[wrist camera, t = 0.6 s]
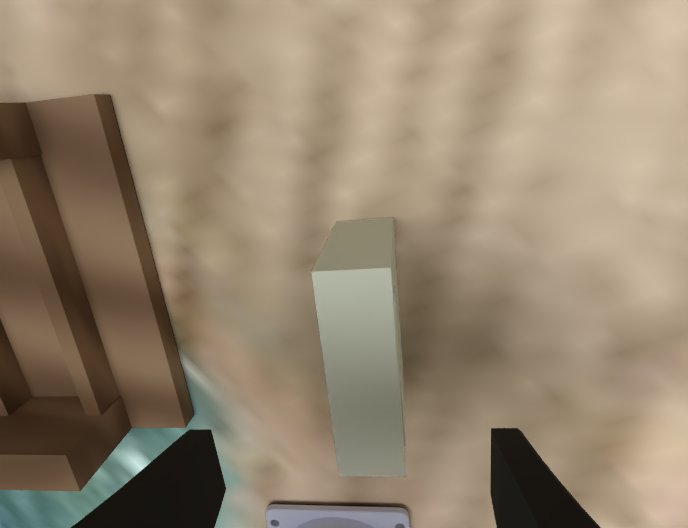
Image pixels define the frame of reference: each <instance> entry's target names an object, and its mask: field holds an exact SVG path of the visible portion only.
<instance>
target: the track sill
mask: <svg viewBox="0 0 688 528" xmlns="http://www.w3.org/2000/svg"><path fill="white" fill-rule="evenodd" d="M193 416H194V412H193V408H192V404H191V400H190V396H189V393H188V389H187V385H186V381H185V378H184V374H183V370H182V366H181V362H180V359H179V355H178V351H177V347H176V344H175V340H174V336H173V332H172V328H171V325H170V321H169V317H168V313H167V309H166V306H165V302H164V298H163V294H162V291H161V287H160V283H159V279H158V275H157V272H156V268H155V264H154V260H153V256H152V253H151V249H150V245H149V241H148V238H147V234H146V230H145V226H144V222H143V219H142V215H141V211H140V207H139V203H138V200H137V196H136V192H135V188H134V185H133V181H132V177H131V173H130V169H129V166H128V162H127V158H126V154H125V150H124V147H123V143H122V139H121V135H120V132H119V128H118V124H117V120H116V116H115V113H114V109H113V105H112V101H111V98H110V95H100V94H93V95H85V96H77V97H68V98H60V99H52V100H44V101H36V102H28V103H0V490H44V491H81V490H82V488H83V487H84V486H85V485H86V484H87V482H88V481H89V480H90V479H91V477H92V476H93V475H94V474H95V472H96V471H97V470H98V469H99V468H100V466H101V465H102V464H103V463H104V461H105V460H106V459H107V458H108V456H109V455H110V454H111V453H112V452H113V450H114V449H115V448H116V447H117V445H118V444H119V443H120V442H121V441H122V439H123V438H124V437H125V436H126V434H127V433H128V432H129V431H130V429H131V428H186V426H187V425H188V423H189V422H190V420H191V419H192V417H193Z"/></svg>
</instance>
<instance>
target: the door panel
mask: <svg viewBox="0 0 688 528" xmlns="http://www.w3.org/2000/svg"><path fill="white" fill-rule="evenodd" d="M311 274H312V281H313V288H314V296H315V303H316V310H317V318H318V325H319V332H320V340H321V347H322V354H323V362H324V369H325V377H326V384H327V391H328V399H329V406H330V413H331V421H332V428H333V435H334V443H335V450H336V457H337V465H338V472H339V476H366V477H405V421H404V375H403V359H402V344H401V329H400V313H399V298H398V283H397V267H396V252H395V237H394V221H393V217H390V218H376V219H362V220H347V221H337V222H336V224H335V226H334V228H333V230H332V232H331V234H330V236H329V238H328V240H327V242H326V244H325V246H324V248H323V250H322V252H321V254H320V256H319V258H318V260H317V262H316V264H315V265H314V267H313V269H312V271H311Z"/></svg>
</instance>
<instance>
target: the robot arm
mask: <svg viewBox="0 0 688 528" xmlns="http://www.w3.org/2000/svg"><path fill="white" fill-rule="evenodd" d="M225 490H226V487H225V483H224V479H223V475H222V471H221V467H220V463H219V459H218V455H217V451H216V447H215V443H214V439H213V435H212V432H211V430H189V431H187V432H186V433H185V434H184V435H182V436H181V437H180V438H179V439H178V440H176V441H175V442H174V443H173V444H172V445H171V446H169V447H168V448H167V449H166V450H165V451H164V452H162V453H161V454H160V455H159V456H158V457H157V458H156V459H154V460H153V461H152V462H151V463H150V464H149V465H147V466H146V467H145V468H144V469H143V470H142V471H140V472H139V473H138V474H137V475H136V476H135V477H133V478H132V479H131V480H130V481H129V482H128V483H126V484H125V485H124V486H123V487H122V488H120V489H119V490H118V491H117V492H116V493H114V494H113V495H112V496H111V497H109V498H108V499H107V500H106V501H104V502H103V503H102V504H101V505H99V506H98V507H97V508H95V509H94V510H93V511H92V512H90V513H89V514H88V515H87V516H85V517H84V518H83V519H82V520H80V521H79V522H78V523H76V524H75V525H74V526H73V527H71V528H214V527H215V524H216V520H217V517H218V514H219V511H220V508H221V504H222V501H223V497H224V494H225ZM491 498H492V503H493V509H494V514H495V520H496V525H497V528H600V526H599V525H598V524H597V523H596V522H595V521H594V520H593V519H592V518H591V517H590V516H589V515H588V513H587V512H586V511H585V510H584V509H583V508H582V507H581V506H580V504H579V503H578V502H577V501H576V500H575V499H574V497H573V496H572V495H571V494H570V493H569V492H568V491H567V489H566V488H565V487H564V486H563V485H562V484H561V482H560V481H559V480H558V479H557V477H556V476H555V475H554V474H553V473H552V471H551V470H550V469H549V467H548V466H547V465H546V464H545V462H544V461H543V460H542V459H541V457H540V456H539V455H538V453H537V452H536V451H535V449H534V448H533V447H532V445H531V444H530V443H529V441H528V440H527V439H526V437H525V436H524V434H523V433H522V432H521V431H520V430H519V429H518V428H491ZM265 517H266V522H267V526H268V528H410V526H409V514H408V512H407V511H406V510H405V509H403V508H399V507H361V506H320V505H279V504H273V505H270V506H268V507H267V509H266V512H265ZM399 523H401V524H399Z"/></svg>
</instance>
